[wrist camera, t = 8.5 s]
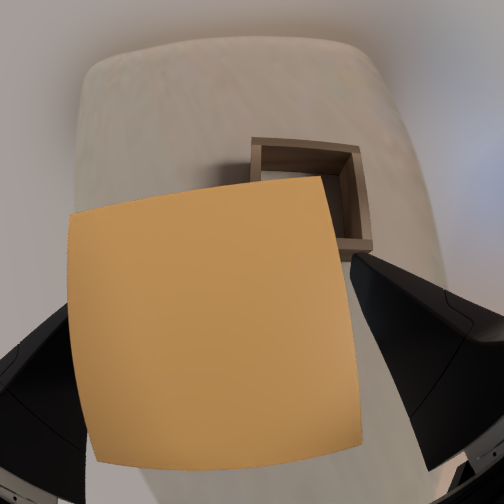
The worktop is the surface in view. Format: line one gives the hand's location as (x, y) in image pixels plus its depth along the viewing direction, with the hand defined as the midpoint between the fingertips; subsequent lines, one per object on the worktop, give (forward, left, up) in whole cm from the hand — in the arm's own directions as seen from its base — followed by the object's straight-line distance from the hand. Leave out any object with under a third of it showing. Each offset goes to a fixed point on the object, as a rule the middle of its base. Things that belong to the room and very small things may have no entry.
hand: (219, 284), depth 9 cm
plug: (-1, 0, -8) cm, 8 cm away
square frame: (+6, -4, -8) cm, 11 cm away
